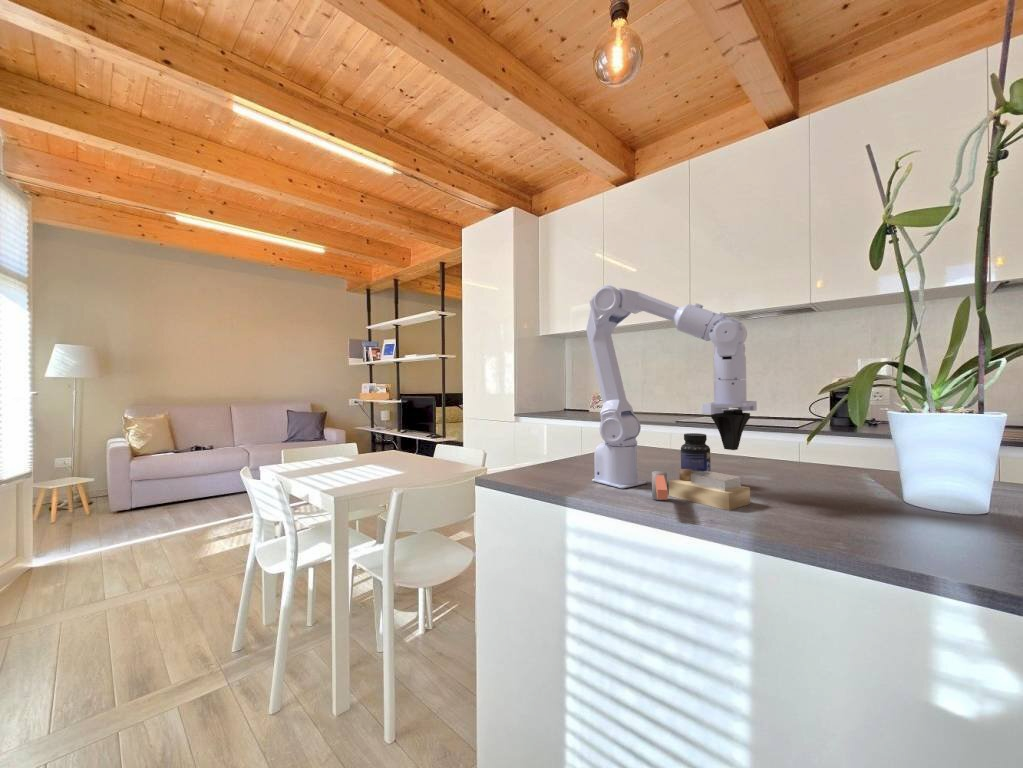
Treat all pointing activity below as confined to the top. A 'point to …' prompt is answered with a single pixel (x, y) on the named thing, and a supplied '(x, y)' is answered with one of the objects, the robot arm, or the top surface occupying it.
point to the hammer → (659, 485)
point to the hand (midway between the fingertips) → (730, 449)
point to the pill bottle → (695, 453)
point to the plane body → (707, 493)
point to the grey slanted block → (716, 480)
